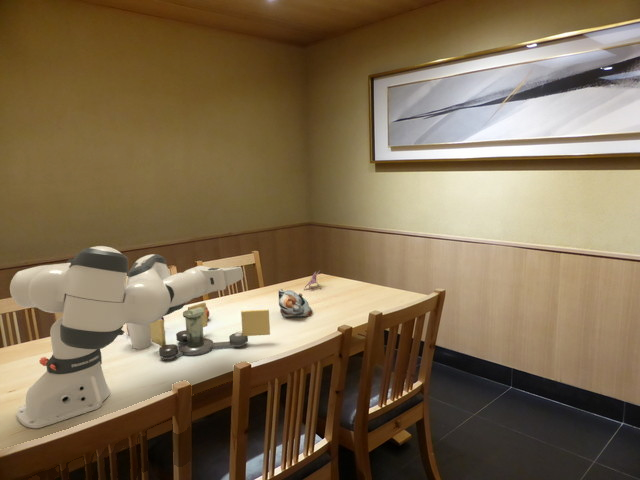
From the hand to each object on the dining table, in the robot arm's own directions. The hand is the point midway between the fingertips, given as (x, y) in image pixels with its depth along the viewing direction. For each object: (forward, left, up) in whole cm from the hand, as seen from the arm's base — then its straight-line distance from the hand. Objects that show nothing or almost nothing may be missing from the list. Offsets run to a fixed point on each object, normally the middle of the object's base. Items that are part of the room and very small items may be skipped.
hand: (228, 269), depth 151 cm
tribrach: (-6, +13, -29) cm, 33 cm away
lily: (+75, +29, -30) cm, 86 cm away
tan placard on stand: (+8, +1, -28) cm, 29 cm away
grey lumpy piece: (+40, +9, -30) cm, 51 cm away
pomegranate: (+12, +36, -30) cm, 48 cm away
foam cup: (-16, +32, -30) cm, 47 cm away
